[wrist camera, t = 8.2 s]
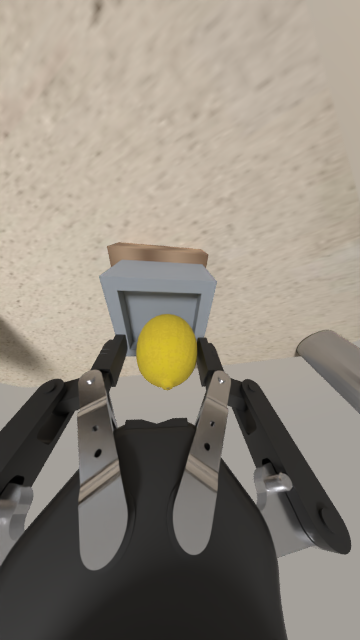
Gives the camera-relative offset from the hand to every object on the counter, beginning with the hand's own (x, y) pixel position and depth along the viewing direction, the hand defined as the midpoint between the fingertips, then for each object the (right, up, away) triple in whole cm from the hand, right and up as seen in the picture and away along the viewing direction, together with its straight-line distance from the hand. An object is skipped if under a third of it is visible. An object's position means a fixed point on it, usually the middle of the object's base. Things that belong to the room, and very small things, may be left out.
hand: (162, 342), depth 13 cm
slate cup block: (-1, +5, +7) cm, 9 cm away
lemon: (0, +2, +3) cm, 4 cm away
